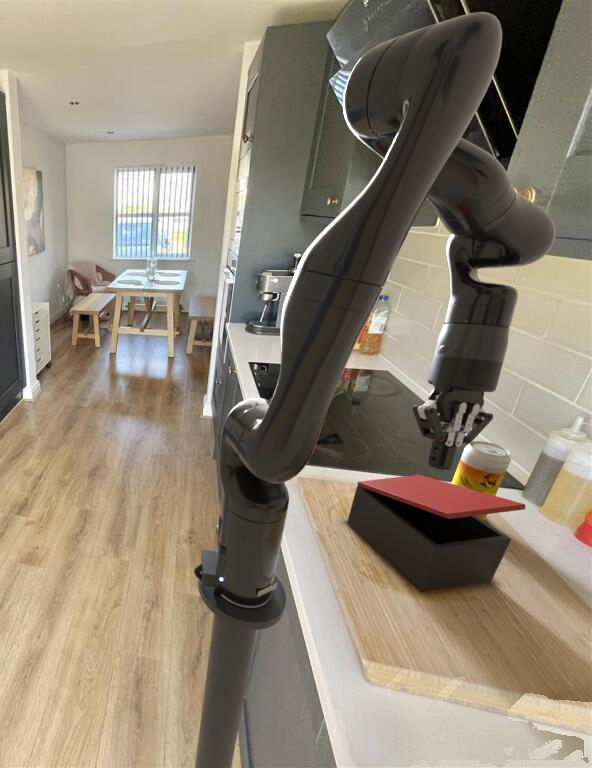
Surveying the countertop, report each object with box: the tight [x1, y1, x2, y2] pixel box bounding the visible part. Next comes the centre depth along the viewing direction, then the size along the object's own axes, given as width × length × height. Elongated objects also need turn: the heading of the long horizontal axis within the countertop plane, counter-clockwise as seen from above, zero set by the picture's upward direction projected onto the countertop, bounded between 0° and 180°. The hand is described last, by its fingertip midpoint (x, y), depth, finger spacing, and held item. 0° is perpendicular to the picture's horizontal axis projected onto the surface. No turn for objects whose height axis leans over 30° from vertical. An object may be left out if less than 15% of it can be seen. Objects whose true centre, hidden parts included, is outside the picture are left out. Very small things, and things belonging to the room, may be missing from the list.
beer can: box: [450, 440, 512, 522], centre depth 75 cm, size 6×6×15 cm
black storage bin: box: [346, 485, 512, 593], centre depth 68 cm, size 16×13×9 cm
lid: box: [357, 474, 526, 519], centre depth 66 cm, size 16×13×1 cm
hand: (438, 468), depth 61 cm, fingers closed
